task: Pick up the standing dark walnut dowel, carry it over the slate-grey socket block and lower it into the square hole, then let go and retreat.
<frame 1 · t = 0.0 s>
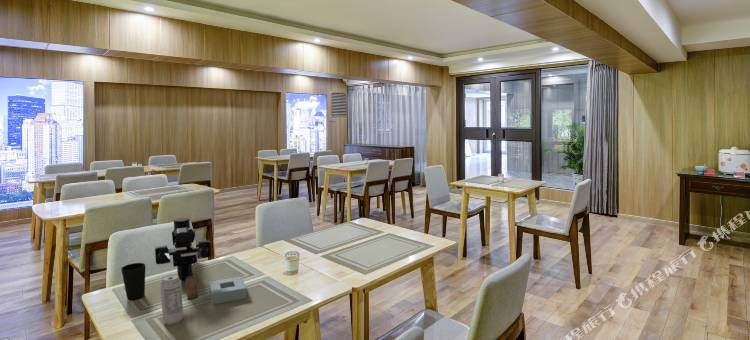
hand: (184, 258, 143), 17 cm above the table, tool horizontal, fingers open, 9 cm apart
socket: (227, 294, 152), on the table
dowel: (192, 298, 150), on the table
energy drink can: (173, 321, 133), on the table
cup: (136, 297, 150), on the table
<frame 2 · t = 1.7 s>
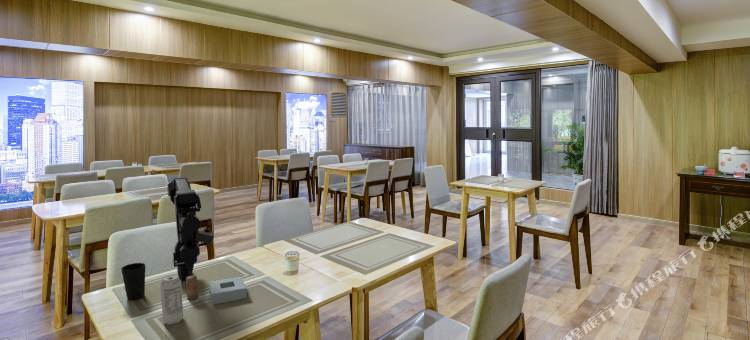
hand: (190, 267, 148), 12 cm above the table, tool pointing down, fingers open, 9 cm apart
nothing on the table moved.
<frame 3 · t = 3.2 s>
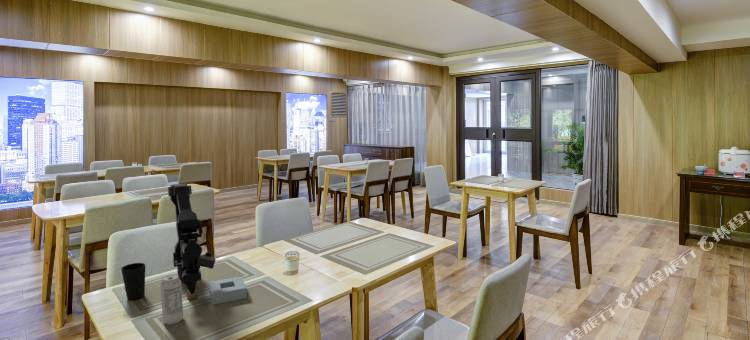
hand: (192, 291, 149), 3 cm above the table, tool pointing down, fingers closed on dowel, 4 cm apart
dowel: (192, 298, 150), on the table, touching gripper
everything else where it was.
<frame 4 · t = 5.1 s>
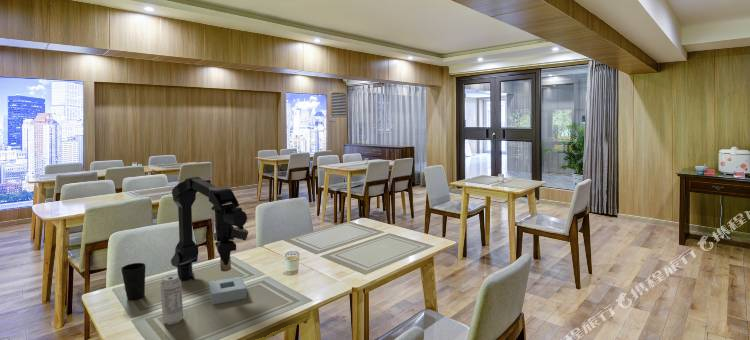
hand: (225, 263, 150), 13 cm above the table, tool pointing down, fingers closed on dowel, 4 cm apart
dowel: (225, 269, 151), point 10 cm above the table, touching gripper
everything else where it was.
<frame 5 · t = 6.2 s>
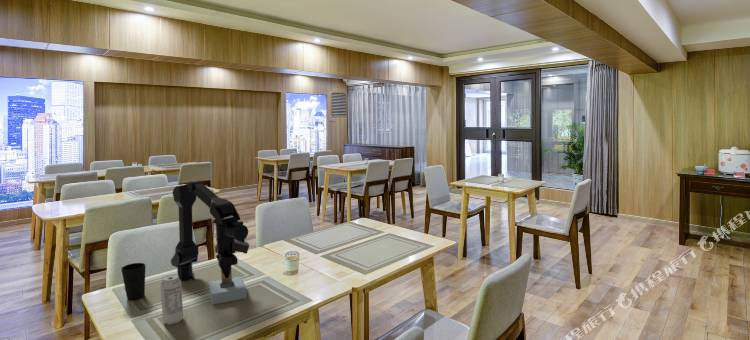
hand: (226, 276, 151), 7 cm above the table, tool pointing down, fingers closed on dowel, 4 cm apart
dowel: (226, 282, 152), point 5 cm above the table, touching gripper
everything else where it was.
when the fingers open (5 cm above the table, at t = 7.1 s): dowel drops 2 cm, resting in socket.
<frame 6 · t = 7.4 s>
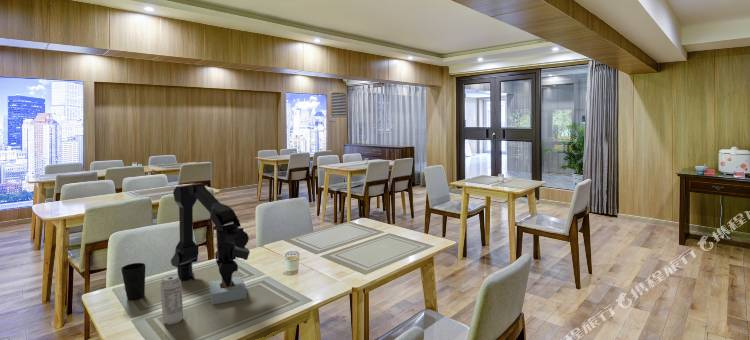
hand: (227, 282, 151), 5 cm above the table, tool pointing down, fingers open, 7 cm apart
dowel: (227, 294, 152), resting in socket
everything else where it was.
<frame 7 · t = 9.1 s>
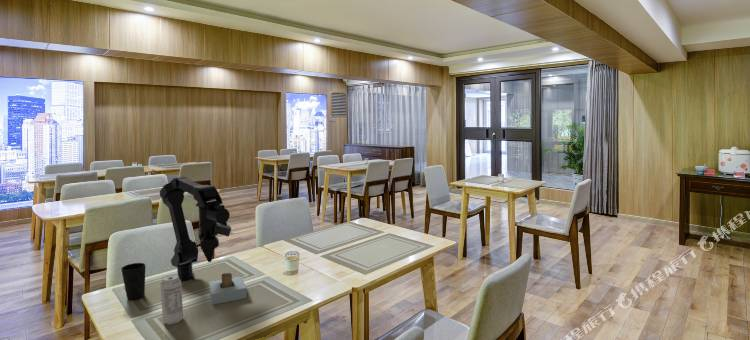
hand: (208, 257, 156), 13 cm above the table, tool pointing down, fingers open, 9 cm apart
nothing on the table moved.
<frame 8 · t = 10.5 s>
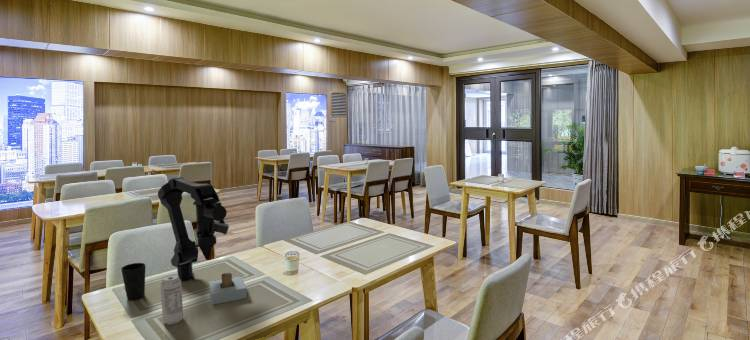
hand: (206, 256, 157), 13 cm above the table, tool pointing down, fingers open, 9 cm apart
nothing on the table moved.
at the end: dowel 0.0 cm off-centre on the socket, point 0.0 cm above the socket's base; dowel tilted 0°; the gripper is holding nothing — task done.
